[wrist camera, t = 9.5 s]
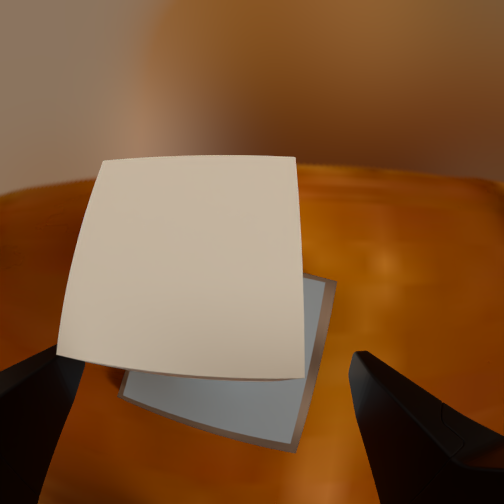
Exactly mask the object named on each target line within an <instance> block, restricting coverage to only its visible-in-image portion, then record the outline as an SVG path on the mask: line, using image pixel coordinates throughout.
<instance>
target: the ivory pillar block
mask: <svg viewBox="0 0 504 504" xmlns="http://www.w3.org/2000/svg"><path fill="white" fill-rule="evenodd" d="M56 355H60V356H64V357H68V358H72V359H76V360H81V361H85V362H90V363H94V364H99V365H104V366H109V367H114V368H120V369H125V370H131V371H137V372H143V373H150V374H157V375H164V376H171V377H180V378H191V379H204V380H221V381H245V382H272V381H283V380H292V379H301V378H305V347H304V297H303V269H302V247H301V228H300V212H299V197H298V183H297V170H296V158H295V157H279V156H247V155H202V156H201V155H197V156H165V157H147V158H132V159H118V160H106V161H103V163H102V166H101V168H100V171H99V174H98V176H97V179H96V182H95V185H94V188H93V191H92V194H91V197H90V200H89V203H88V206H87V209H86V212H85V216H84V219H83V223H82V226H81V229H80V233H79V237H78V240H77V244H76V248H75V252H74V256H73V260H72V265H71V269H70V273H69V278H68V283H67V288H66V293H65V298H64V304H63V309H62V316H61V322H60V329H59V336H58V344H57V353H56Z"/></svg>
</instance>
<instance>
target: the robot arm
mask: <svg viewBox="0 0 504 504" xmlns="http://www.w3.org/2000/svg"><path fill="white" fill-rule="evenodd" d="M56 353H57V344H56V345H54V346H52V347H50V348H48V349H46V350H44V351H42V352H40V353H38V354H36V355H34V356H32V357H29V358H27V359H25V360H23V361H21V362H19V363H17V364H15V365H13V366H11V367H9V368H7V369H5V370H3V371H1V372H0V504H37V503H38V500H39V496H40V493H41V489H42V486H43V483H44V480H45V477H46V474H47V471H48V468H49V465H50V462H51V459H52V456H53V453H54V450H55V448H56V445H57V442H58V440H59V437H60V434H61V432H62V429H63V426H64V424H65V421H66V419H67V416H68V414H69V412H70V409H71V407H72V404H73V402H74V399H75V396H76V392H77V389H78V386H79V382H80V379H81V376H82V373H83V370H84V367H85V361H81V360H76V359H72V358H68V357H64V356H60V355H56ZM349 382H350V387H351V393H352V398H353V404H354V410H355V415H356V419H357V423H358V426H359V429H360V433H361V436H362V439H363V443H364V446H365V449H366V453H367V456H368V460H369V463H370V467H371V470H372V474H373V478H374V481H375V485H376V489H377V492H378V496H379V500H380V504H504V436H502V435H500V434H498V433H496V432H494V431H492V430H491V429H489V428H487V427H485V426H483V425H481V424H479V423H477V422H475V421H473V420H471V419H470V418H468V417H466V416H464V415H462V414H461V413H459V412H458V411H456V410H454V409H453V408H451V407H450V406H448V405H447V404H445V403H442V401H441V400H439V399H438V398H436V397H435V396H433V395H432V394H430V393H429V392H427V391H426V390H424V389H423V388H421V387H420V386H418V385H417V384H415V383H414V382H412V381H411V380H409V379H408V378H406V377H405V376H403V375H402V374H400V373H399V372H397V371H396V370H394V369H393V368H391V367H390V366H388V365H387V364H386V363H384V362H383V361H381V360H380V359H378V358H377V357H375V356H374V355H372V354H371V353H369V352H368V351H356V352H355V353H354V354H353V357H352V361H351V365H350V369H349Z"/></svg>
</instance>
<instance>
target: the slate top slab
mask: <svg viewBox="0 0 504 504" xmlns="http://www.w3.org/2000/svg"><path fill="white" fill-rule="evenodd" d="M324 287H325V282H321V281H316V280H312V279H308V278H303V297H304V347H305V378H301V379H292V380H283V381H272V382H245V381H221V380H204V379H191V378H180V377H171V376H164V375H157V374H150V373H143V372H137V371H131V370H130V372H129V376H128V379H127V383H126V386H125V390H124V393H123V396H126V397H128V398H131V399H133V400H136V401H138V402H141V403H143V404H146V405H148V406H151V407H154V408H157V409H159V410H162V411H165V412H168V413H171V414H174V415H177V416H180V417H183V418H186V419H189V420H192V421H195V422H199V423H202V424H206V425H209V426H213V427H216V428H220V429H224V430H228V431H232V432H236V433H240V434H244V435H248V436H253V437H257V438H262V439H267V440H272V441H277V442H283V443H289V444H290V443H291V439H292V436H293V432H294V428H295V424H296V420H297V417H298V413H299V409H300V404H301V400H302V396H303V392H304V388H305V383H306V379H307V375H308V370H309V366H310V361H311V356H312V351H313V347H314V342H315V337H316V331H317V326H318V321H319V316H320V310H321V305H322V299H323V293H324Z"/></svg>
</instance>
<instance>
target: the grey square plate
mask: <svg viewBox="0 0 504 504" xmlns="http://www.w3.org/2000/svg"><path fill="white" fill-rule="evenodd" d="M303 278H308V279H312V280H316V281H321V282H325V287H324V293H323V299H322V305H321V310H320V316H319V321H318V326H317V331H316V337H315V342H314V347H313V351H312V356H311V361H310V366H309V370H308V375H307V379H306V383H305V388H304V392H303V396H302V400H301V404H300V409H299V413H298V417H297V420H296V424H295V428H294V432H293V436H292V439H291V443H290V444H289V443H283V442H277V441H272V440H267V439H262V438H257V437H253V436H248V435H244V434H240V433H236V432H232V431H228V430H224V429H220V428H216V427H213V426H209V425H206V424H202V423H199V422H195V421H192V420H189V419H186V418H183V417H180V416H177V415H174V414H171V413H168V412H165V411H162V410H159V409H157V408H154V407H151V406H148V405H146V404H143V403H141V402H138V401H136V400H133V399H131V398H128V397H126V396H123V393H124V390H125V386H126V383H127V379H128V376H129V372H130V370H126V371H125V374H124V377H123V380H122V383H121V386H120V389H119V393H118V396H117V397H119V398H121V399H123V400H125V401H128V402H130V403H132V404H134V405H137V406H139V407H141V408H144V409H146V410H149V411H151V412H154V413H156V414H159V415H161V416H164V417H166V418H169V419H172V420H175V421H177V422H180V423H183V424H186V425H189V426H192V427H195V428H198V429H201V430H204V431H207V432H210V433H213V434H217V435H220V436H224V437H227V438H231V439H234V440H238V441H242V442H246V443H250V444H254V445H258V446H262V447H267V448H271V449H276V450H281V451H286V452H291V453H296V450H297V447H298V444H299V441H300V437H301V434H302V430H303V427H304V424H305V420H306V417H307V413H308V409H309V406H310V402H311V398H312V394H313V390H314V387H315V383H316V379H317V375H318V370H319V366H320V362H321V358H322V353H323V349H324V344H325V340H326V335H327V331H328V326H329V321H330V316H331V311H332V306H333V300H334V295H335V290H336V284H337V281H333V280H329V279H326V278H322V277H318V276H314V275H310V274H306V273H303Z"/></svg>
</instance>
